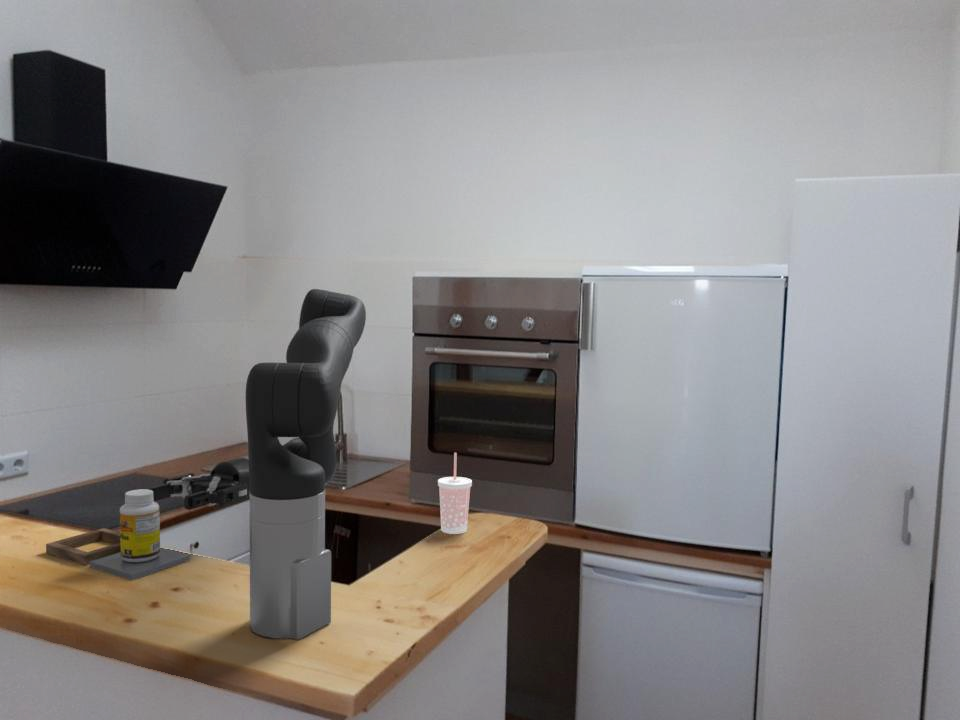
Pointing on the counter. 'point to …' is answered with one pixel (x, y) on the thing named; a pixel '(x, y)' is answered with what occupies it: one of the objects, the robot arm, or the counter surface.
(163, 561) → the slate coaster
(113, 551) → the pocket frame
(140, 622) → the counter surface
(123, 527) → the supplement bottle
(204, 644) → the counter surface
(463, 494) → the beverage cup
